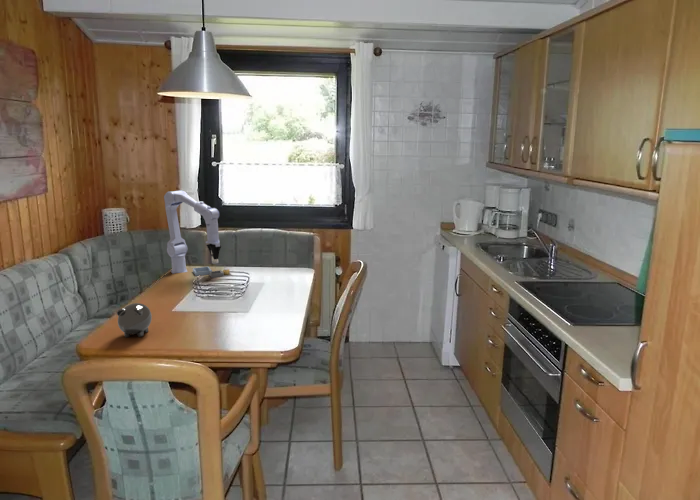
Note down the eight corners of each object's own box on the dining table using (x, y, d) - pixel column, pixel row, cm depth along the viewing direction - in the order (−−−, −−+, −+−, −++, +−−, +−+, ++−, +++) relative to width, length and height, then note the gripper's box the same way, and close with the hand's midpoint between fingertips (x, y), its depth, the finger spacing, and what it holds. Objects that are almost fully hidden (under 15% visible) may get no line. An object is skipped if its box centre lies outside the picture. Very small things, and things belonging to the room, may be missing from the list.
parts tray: (192, 272, 287) (192, 268, 286) (208, 270, 290) (208, 266, 290) (195, 277, 277) (195, 272, 277) (212, 275, 281) (211, 270, 280)
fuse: (211, 262, 276) (210, 249, 275) (217, 261, 278) (216, 248, 276) (212, 263, 273) (211, 250, 272) (219, 263, 275) (218, 249, 273)
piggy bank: (112, 342, 189) (108, 311, 186) (129, 328, 203) (125, 299, 201) (143, 342, 188) (140, 310, 186) (158, 327, 203) (155, 298, 201)
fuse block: (209, 275, 279) (208, 269, 279) (229, 273, 283) (228, 267, 283) (211, 279, 272) (211, 272, 271) (232, 276, 276) (232, 270, 276)
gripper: (200, 231, 276) (203, 257, 279) (209, 235, 264) (211, 261, 267) (214, 229, 280) (216, 255, 283) (223, 233, 268) (225, 260, 270)
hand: (214, 258), depth 275 cm, fingers closed on fuse, 3 cm apart
